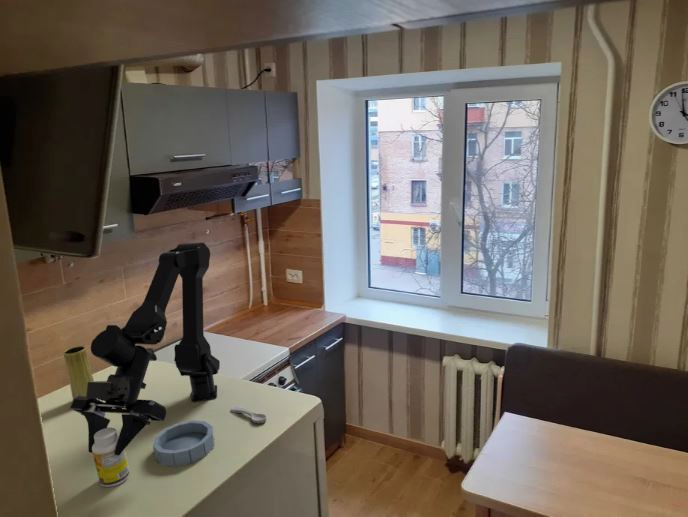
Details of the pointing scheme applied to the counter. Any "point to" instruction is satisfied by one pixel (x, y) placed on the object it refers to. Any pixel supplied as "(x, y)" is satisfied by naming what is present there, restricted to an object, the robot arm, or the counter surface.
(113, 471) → the supplement bottle
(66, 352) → the vase
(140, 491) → the counter surface
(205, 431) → the bowl
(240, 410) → the spoon
